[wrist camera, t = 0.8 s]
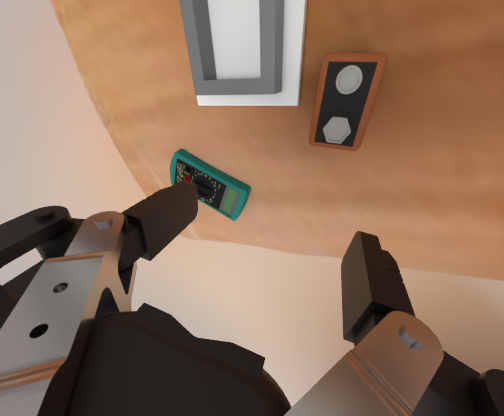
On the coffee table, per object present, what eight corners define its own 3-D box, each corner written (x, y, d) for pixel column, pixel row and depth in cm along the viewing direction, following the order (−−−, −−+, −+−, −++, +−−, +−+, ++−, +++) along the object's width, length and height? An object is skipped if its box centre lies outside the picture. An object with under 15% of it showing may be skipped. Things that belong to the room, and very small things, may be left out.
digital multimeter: (180, 145, 36) (168, 150, 34) (253, 186, 35) (246, 194, 32) (176, 178, 41) (166, 184, 38) (240, 215, 39) (234, 224, 37)
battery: (319, 124, 26) (305, 149, 18) (332, 56, 22) (321, 51, 14) (356, 128, 24) (359, 156, 17) (377, 57, 20) (393, 51, 13)
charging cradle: (175, -70, 21) (143, -95, 18) (316, -119, 16) (307, -165, 13) (203, 104, 30) (185, 108, 27) (299, 104, 25) (292, 109, 22)
